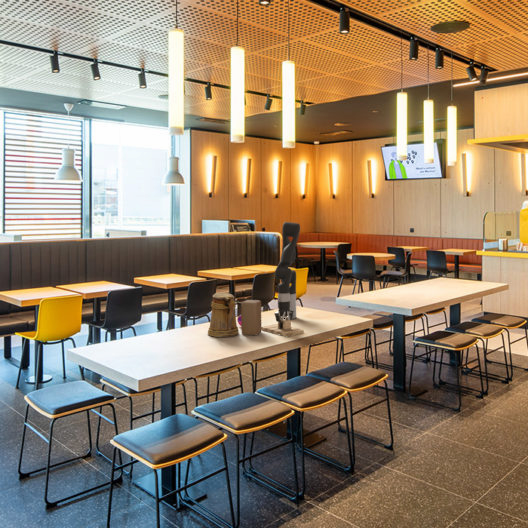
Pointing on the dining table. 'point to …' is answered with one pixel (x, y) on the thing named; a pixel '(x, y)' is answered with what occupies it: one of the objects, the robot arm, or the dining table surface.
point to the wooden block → (251, 317)
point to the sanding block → (285, 324)
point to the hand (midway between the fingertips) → (284, 327)
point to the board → (282, 332)
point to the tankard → (223, 316)
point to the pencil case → (239, 320)
